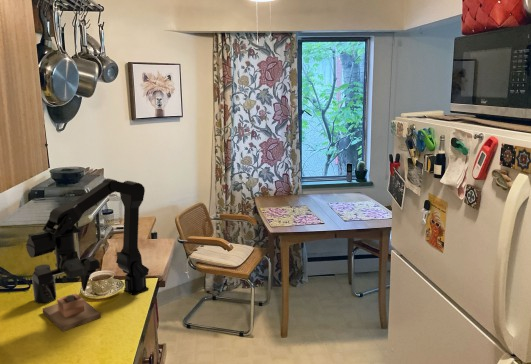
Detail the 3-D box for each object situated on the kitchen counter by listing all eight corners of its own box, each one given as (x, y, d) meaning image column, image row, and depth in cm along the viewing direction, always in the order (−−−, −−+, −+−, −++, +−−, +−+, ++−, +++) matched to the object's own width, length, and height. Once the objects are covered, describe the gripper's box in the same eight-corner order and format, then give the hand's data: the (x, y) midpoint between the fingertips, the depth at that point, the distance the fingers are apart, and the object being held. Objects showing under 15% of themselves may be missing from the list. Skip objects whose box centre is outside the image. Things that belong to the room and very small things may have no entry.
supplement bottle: (30, 301, 152) (26, 268, 150) (47, 293, 158) (44, 261, 156) (43, 306, 149) (39, 272, 147) (61, 297, 155) (57, 265, 153)
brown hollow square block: (77, 304, 147) (76, 293, 146) (84, 310, 143) (83, 299, 142) (58, 310, 143) (57, 299, 142) (65, 317, 139) (64, 305, 138)
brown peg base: (79, 300, 153) (78, 282, 152) (101, 317, 142) (99, 298, 141) (42, 312, 145) (40, 294, 144) (62, 331, 134) (60, 311, 132)
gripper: (42, 263, 127) (48, 314, 130) (105, 247, 140) (109, 294, 143) (29, 253, 134) (34, 301, 138) (90, 239, 147) (93, 283, 151)
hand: (69, 295), depth 142 cm, fingers open, 9 cm apart
